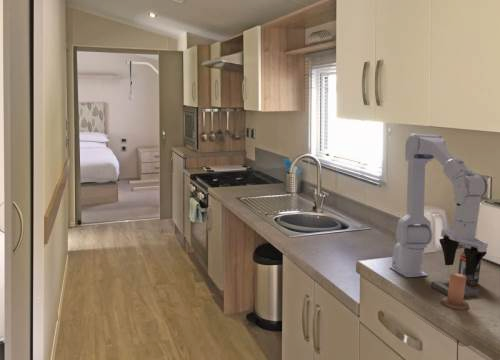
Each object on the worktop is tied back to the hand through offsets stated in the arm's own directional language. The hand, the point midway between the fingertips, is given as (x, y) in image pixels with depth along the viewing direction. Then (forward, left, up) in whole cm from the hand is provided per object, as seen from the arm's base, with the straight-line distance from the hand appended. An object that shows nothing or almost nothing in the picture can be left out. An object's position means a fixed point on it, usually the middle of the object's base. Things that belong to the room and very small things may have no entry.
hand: (458, 269), depth 134 cm
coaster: (0, 0, -10) cm, 10 cm away
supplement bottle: (-13, +16, -10) cm, 23 cm away
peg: (0, 0, -9) cm, 9 cm away
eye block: (-8, +7, -10) cm, 14 cm away
